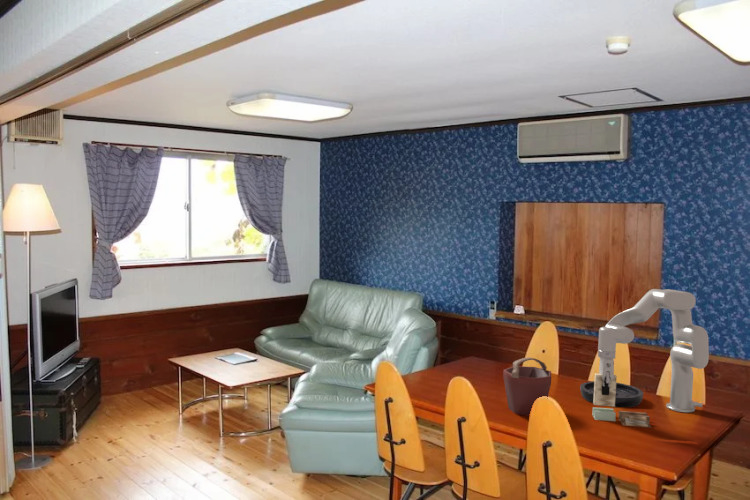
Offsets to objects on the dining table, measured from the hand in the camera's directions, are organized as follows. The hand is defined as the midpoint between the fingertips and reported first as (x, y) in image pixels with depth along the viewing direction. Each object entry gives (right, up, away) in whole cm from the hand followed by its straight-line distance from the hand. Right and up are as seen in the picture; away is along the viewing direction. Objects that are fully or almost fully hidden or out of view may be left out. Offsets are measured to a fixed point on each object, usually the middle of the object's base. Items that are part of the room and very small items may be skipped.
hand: (604, 393), depth 287 cm
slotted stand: (0, -12, +1) cm, 12 cm away
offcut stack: (+11, -12, -8) cm, 18 cm away
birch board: (0, -5, 0) cm, 5 cm away
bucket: (-33, -11, +13) cm, 37 cm away
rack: (+11, -13, -5) cm, 18 cm away
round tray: (+15, -11, +33) cm, 38 cm away
